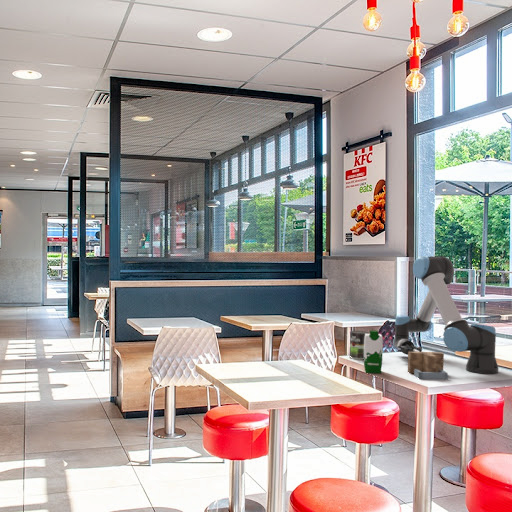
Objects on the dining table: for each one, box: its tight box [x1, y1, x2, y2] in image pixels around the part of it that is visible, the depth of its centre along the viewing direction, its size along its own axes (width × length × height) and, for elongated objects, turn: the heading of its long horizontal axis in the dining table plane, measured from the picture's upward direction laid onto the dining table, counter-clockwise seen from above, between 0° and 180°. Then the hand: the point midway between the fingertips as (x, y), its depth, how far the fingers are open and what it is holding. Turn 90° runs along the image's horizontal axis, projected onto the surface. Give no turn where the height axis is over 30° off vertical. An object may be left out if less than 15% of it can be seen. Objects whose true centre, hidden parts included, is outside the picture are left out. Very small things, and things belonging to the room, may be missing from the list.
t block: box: [407, 351, 445, 374], centre depth 292 cm, size 16×12×10 cm
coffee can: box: [349, 330, 370, 360], centre depth 335 cm, size 10×10×14 cm
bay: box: [413, 369, 448, 380], centre depth 286 cm, size 13×9×3 cm
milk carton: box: [363, 330, 384, 374], centre depth 296 cm, size 9×9×20 cm
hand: (418, 354), depth 308 cm, fingers closed
